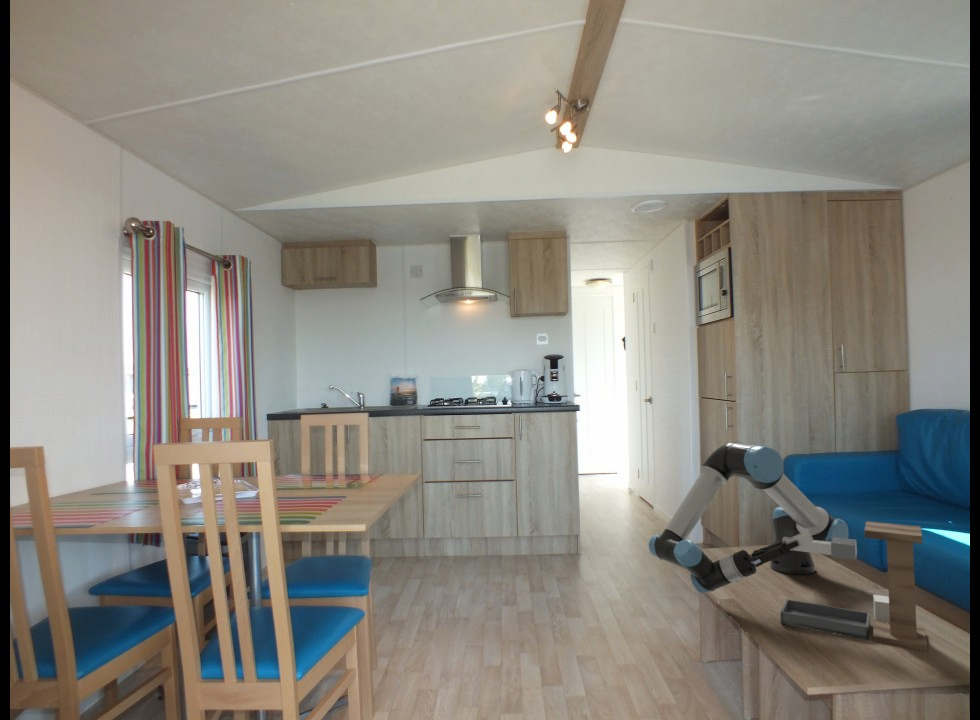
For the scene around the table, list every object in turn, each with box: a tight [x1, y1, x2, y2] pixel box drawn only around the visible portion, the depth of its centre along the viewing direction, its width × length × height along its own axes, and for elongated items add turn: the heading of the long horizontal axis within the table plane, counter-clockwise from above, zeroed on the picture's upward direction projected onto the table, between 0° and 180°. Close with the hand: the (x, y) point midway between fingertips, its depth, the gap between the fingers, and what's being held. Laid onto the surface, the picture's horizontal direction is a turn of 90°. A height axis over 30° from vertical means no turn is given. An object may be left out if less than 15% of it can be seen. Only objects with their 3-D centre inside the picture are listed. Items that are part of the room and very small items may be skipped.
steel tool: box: [782, 537, 858, 561], centre depth 181 cm, size 7×19×4 cm, turn 57°
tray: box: [780, 598, 871, 641], centre depth 179 cm, size 12×22×4 cm, turn 57°
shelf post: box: [864, 521, 928, 652], centre depth 170 cm, size 12×13×30 cm
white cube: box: [872, 594, 890, 623], centre depth 182 cm, size 6×6×6 cm
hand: (809, 536), depth 182 cm, fingers closed on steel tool, 3 cm apart
